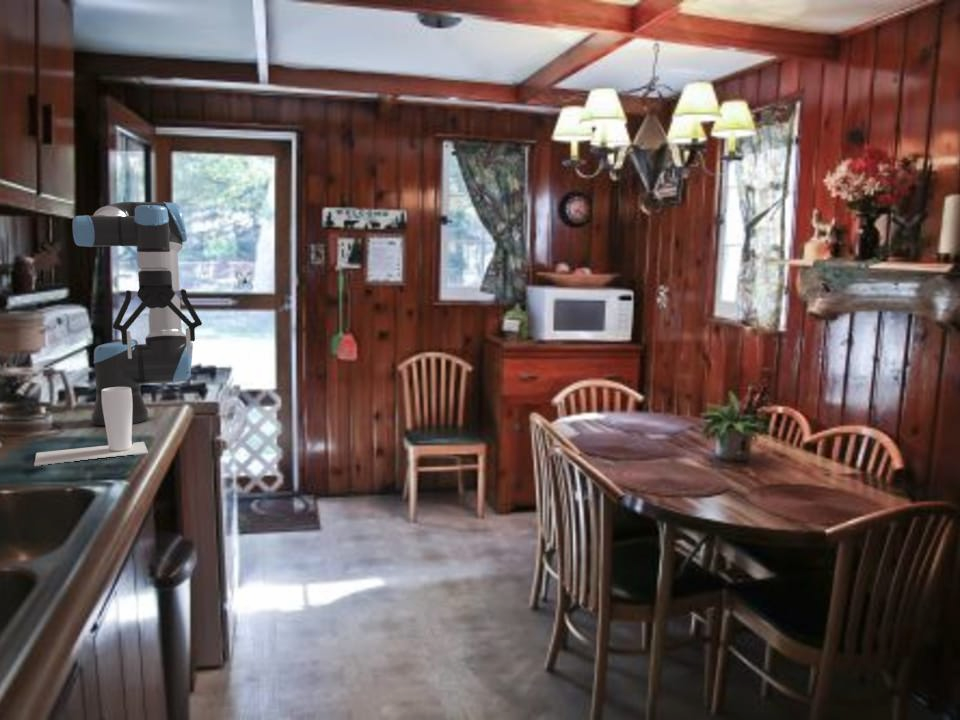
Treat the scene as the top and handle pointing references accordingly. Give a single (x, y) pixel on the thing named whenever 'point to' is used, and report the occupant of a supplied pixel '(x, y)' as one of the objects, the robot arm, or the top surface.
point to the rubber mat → (86, 454)
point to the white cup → (118, 417)
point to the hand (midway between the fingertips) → (160, 356)
